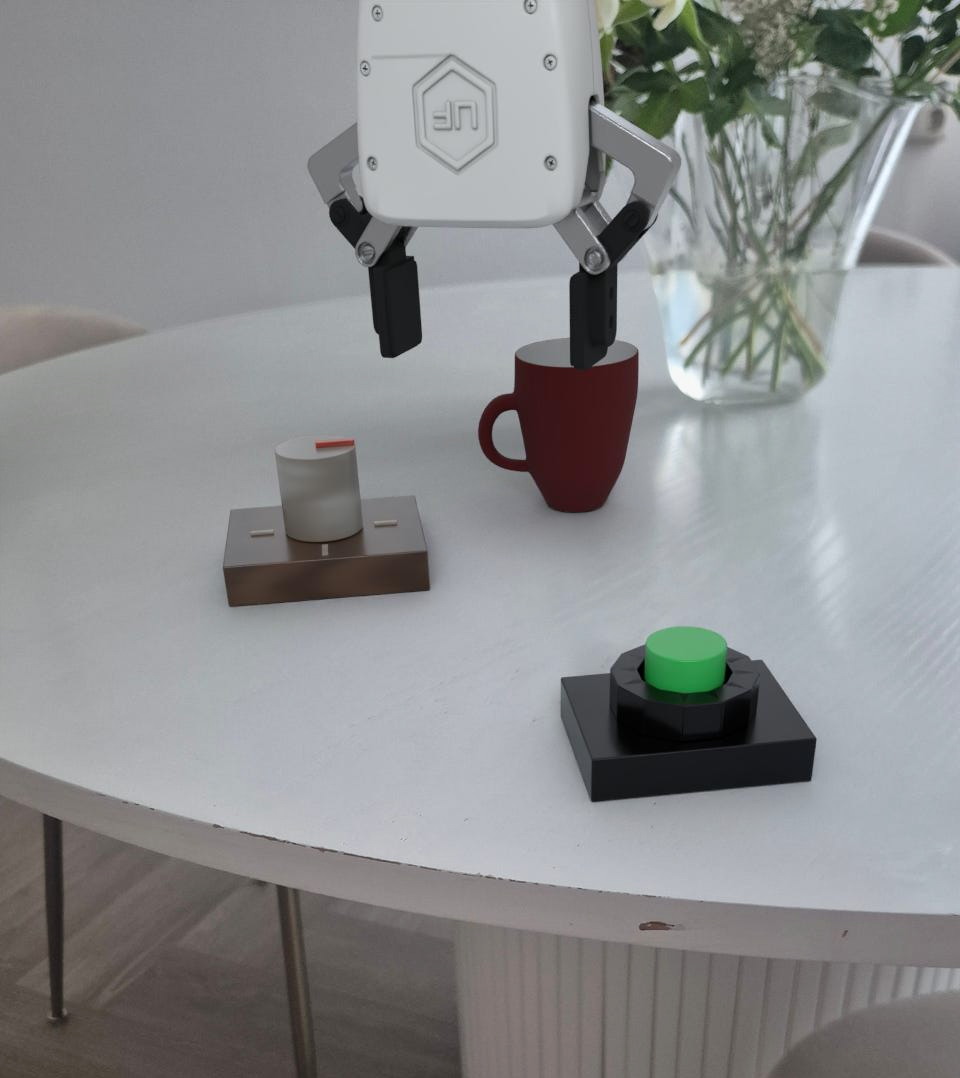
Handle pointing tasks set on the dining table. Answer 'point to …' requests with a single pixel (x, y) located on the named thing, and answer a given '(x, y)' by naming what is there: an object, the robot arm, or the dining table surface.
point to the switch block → (683, 731)
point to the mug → (568, 421)
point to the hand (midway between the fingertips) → (493, 356)
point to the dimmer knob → (319, 487)
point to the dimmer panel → (325, 556)
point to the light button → (685, 659)
